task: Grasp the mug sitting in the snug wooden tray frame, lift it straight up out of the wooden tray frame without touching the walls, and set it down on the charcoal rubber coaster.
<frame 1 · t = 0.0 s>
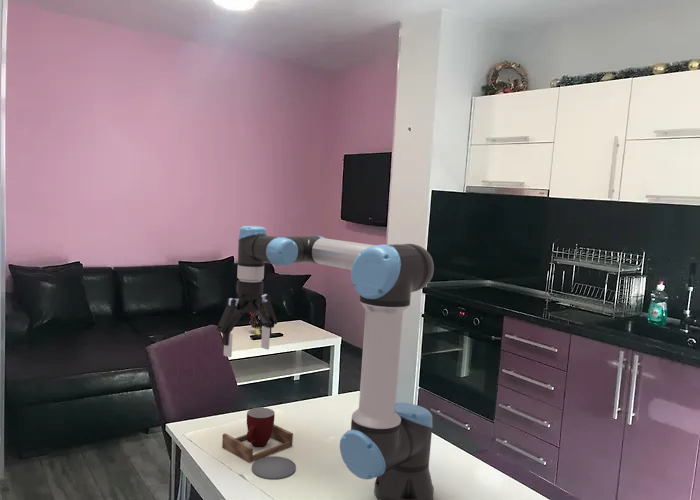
hand: (246, 352, 166), 28 cm above the table, fingers open, 13 cm apart
wooden tray frame: (257, 446, 168), on the table
mug: (257, 447, 168), resting in wooden tray frame
coaster: (273, 468, 156), on the table
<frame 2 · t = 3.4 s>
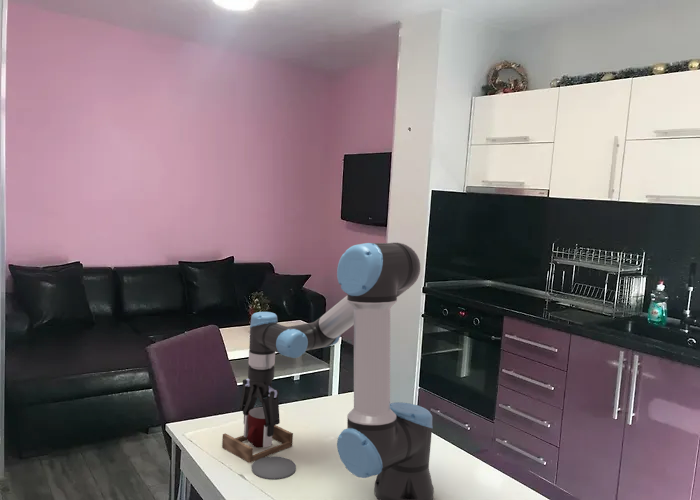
hand: (257, 440, 168), 2 cm above the table, fingers closed on mug, 8 cm apart
mug: (257, 447, 168), resting in wooden tray frame, touching gripper
when the fingers open (4 cm above the table, at t = 9.8 s): mug drops 1 cm, resting on coaster.
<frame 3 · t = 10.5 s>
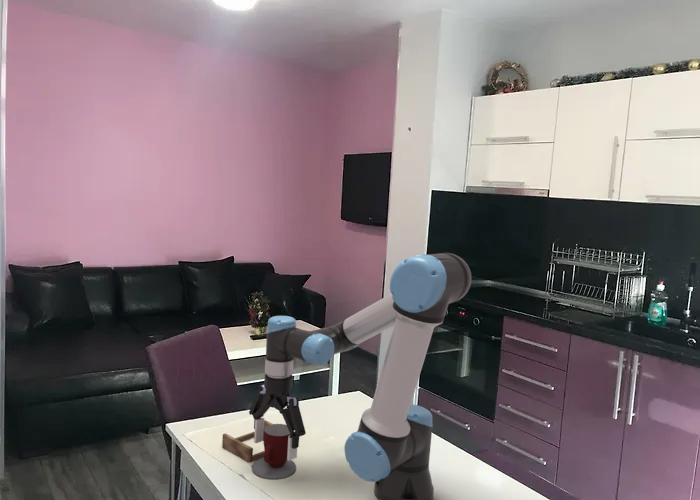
hand: (274, 450, 155), 5 cm above the table, fingers open, 13 cm apart
mug: (274, 467, 156), resting on coaster
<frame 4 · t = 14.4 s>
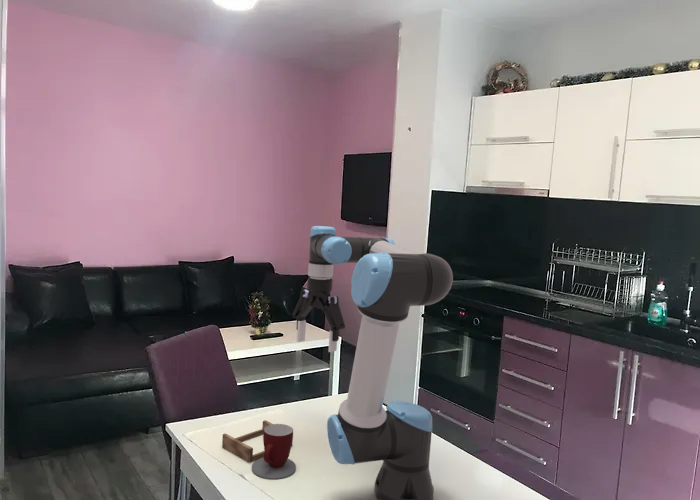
hand: (316, 346, 175), 29 cm above the table, fingers open, 13 cm apart
nothing on the table moved.
at the end: mug 0.4 cm from the coaster (horizontally); mug tilted 0°; the gripper is holding nothing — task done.
